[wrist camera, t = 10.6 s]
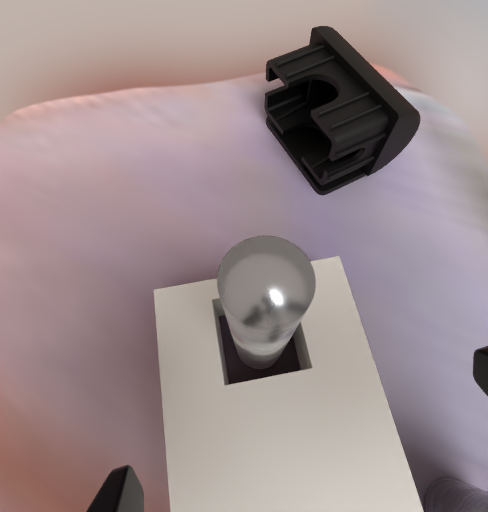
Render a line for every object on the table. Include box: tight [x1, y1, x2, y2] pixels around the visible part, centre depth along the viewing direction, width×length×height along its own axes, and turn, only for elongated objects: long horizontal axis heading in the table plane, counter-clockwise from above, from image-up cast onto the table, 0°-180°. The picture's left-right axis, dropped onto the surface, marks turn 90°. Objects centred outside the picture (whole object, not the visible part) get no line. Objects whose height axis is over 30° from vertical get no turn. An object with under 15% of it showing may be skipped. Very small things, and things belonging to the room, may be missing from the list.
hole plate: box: [154, 256, 424, 512], centre depth 17 cm, size 18×11×4 cm, turn 11°
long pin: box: [217, 236, 316, 369], centre depth 16 cm, size 3×3×12 cm
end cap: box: [265, 26, 420, 195], centre depth 25 cm, size 10×7×7 cm
